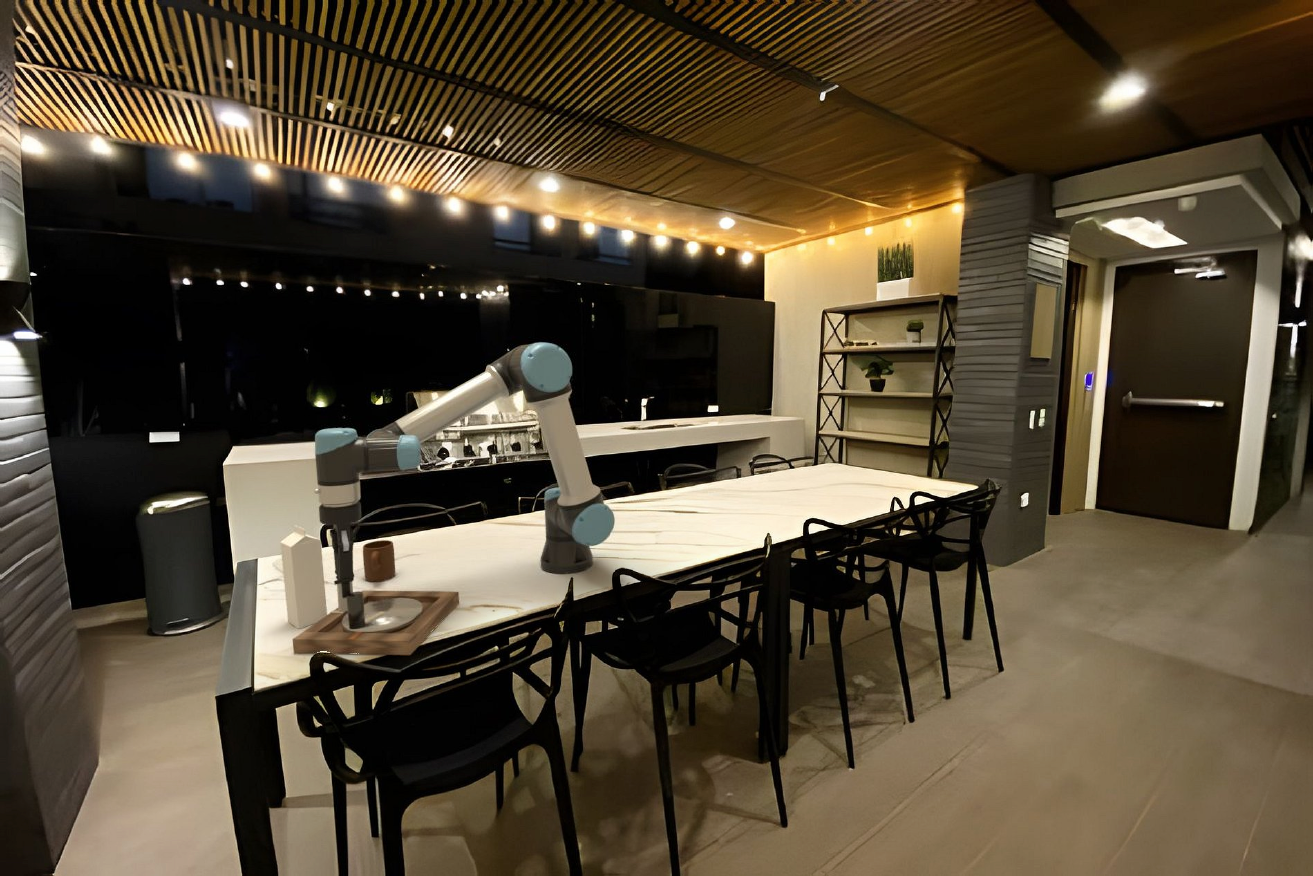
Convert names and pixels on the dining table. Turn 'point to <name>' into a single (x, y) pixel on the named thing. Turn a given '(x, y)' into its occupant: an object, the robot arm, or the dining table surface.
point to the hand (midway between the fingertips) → (346, 609)
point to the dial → (379, 614)
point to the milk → (303, 578)
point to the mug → (379, 560)
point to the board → (398, 642)
